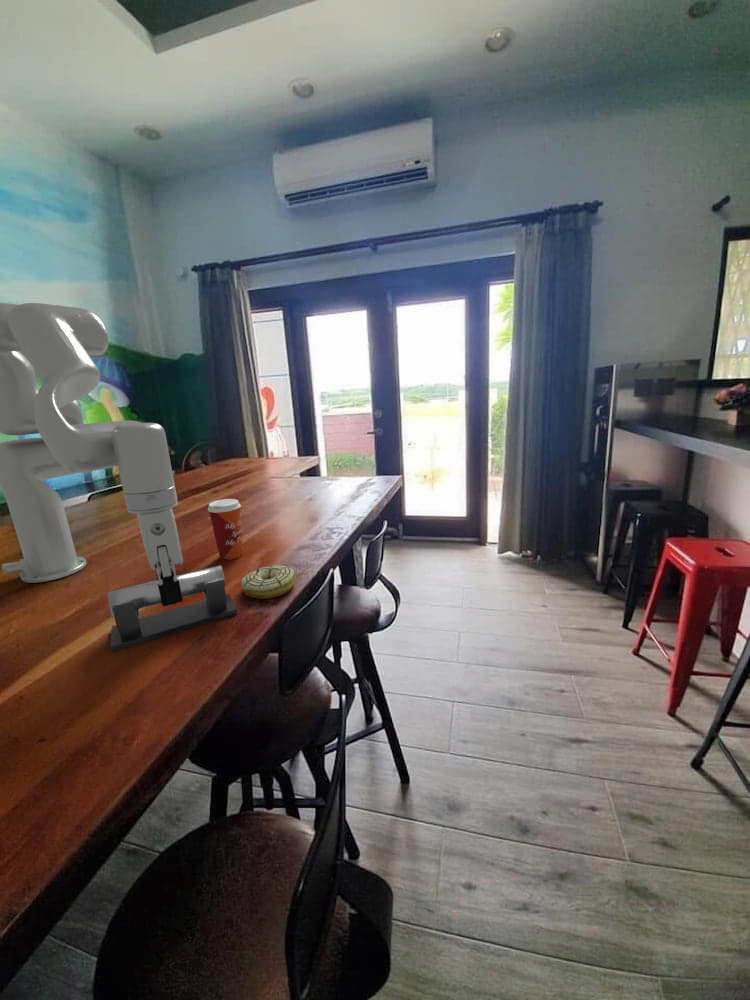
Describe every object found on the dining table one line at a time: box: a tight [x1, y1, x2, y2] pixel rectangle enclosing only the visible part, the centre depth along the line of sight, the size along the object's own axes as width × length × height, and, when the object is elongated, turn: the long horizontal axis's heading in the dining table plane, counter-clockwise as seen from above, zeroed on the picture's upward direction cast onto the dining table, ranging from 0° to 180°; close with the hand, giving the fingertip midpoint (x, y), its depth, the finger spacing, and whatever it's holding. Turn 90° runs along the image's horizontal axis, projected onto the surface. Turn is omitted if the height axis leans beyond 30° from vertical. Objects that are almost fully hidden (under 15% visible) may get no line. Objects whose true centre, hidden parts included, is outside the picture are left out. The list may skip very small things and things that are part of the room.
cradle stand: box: [109, 565, 238, 653], centre depth 73 cm, size 20×7×8 cm, turn 120°
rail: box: [107, 565, 226, 617], centre depth 72 cm, size 18×4×4 cm, turn 120°
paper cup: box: [207, 498, 244, 561], centre depth 101 cm, size 8×8×14 cm
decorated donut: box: [240, 564, 296, 600], centre depth 84 cm, size 10×11×4 cm
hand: (171, 596), depth 72 cm, fingers closed on rail, 4 cm apart
